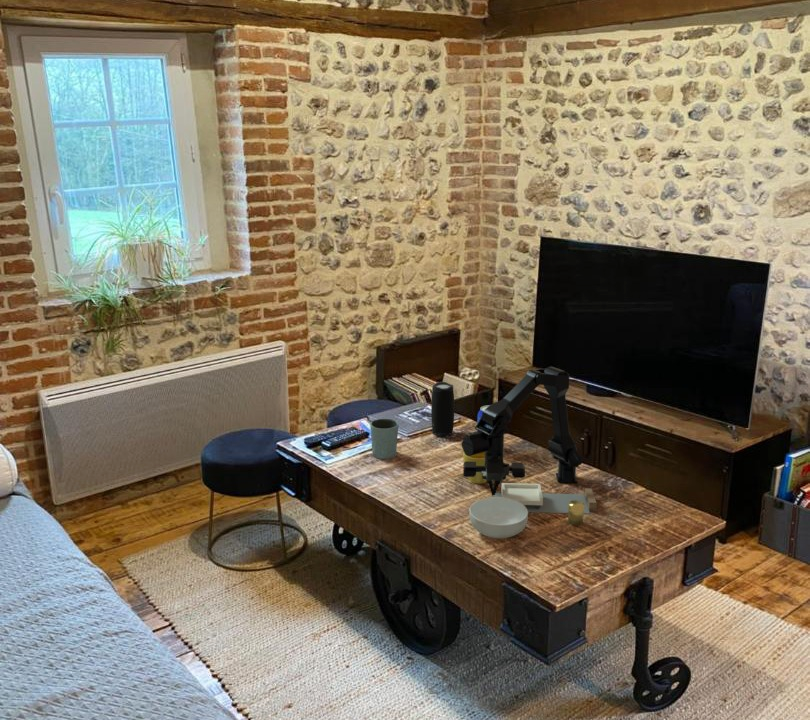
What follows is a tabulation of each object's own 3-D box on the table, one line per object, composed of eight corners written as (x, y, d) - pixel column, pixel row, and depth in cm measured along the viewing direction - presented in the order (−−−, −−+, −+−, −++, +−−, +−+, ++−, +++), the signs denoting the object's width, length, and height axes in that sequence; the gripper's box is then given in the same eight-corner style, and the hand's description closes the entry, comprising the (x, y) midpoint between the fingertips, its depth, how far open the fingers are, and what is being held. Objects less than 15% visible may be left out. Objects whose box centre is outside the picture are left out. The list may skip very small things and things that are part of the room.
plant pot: (479, 489, 258) (479, 461, 255) (456, 479, 266) (456, 451, 263) (500, 480, 265) (501, 452, 262) (478, 470, 272) (478, 443, 269)
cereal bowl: (458, 524, 236) (459, 502, 234) (508, 513, 242) (508, 492, 240) (486, 551, 221) (487, 528, 219) (538, 539, 227) (539, 516, 225)
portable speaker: (433, 439, 299) (433, 389, 294) (429, 429, 308) (429, 381, 303) (456, 437, 300) (456, 388, 295) (451, 428, 309) (452, 380, 304)
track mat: (491, 492, 256) (491, 492, 256) (583, 494, 254) (583, 494, 254) (493, 511, 243) (493, 510, 243) (589, 513, 241) (589, 513, 241)
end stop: (584, 496, 252) (584, 488, 252) (590, 497, 252) (591, 488, 251) (589, 511, 243) (589, 502, 242) (595, 511, 243) (596, 502, 242)
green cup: (382, 446, 293) (381, 416, 289) (404, 453, 287) (404, 421, 283) (364, 456, 285) (364, 424, 281) (387, 462, 279) (387, 430, 276)
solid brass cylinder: (566, 518, 239) (567, 500, 237) (581, 519, 238) (582, 500, 237) (568, 525, 235) (569, 507, 233) (584, 526, 234) (585, 507, 233)
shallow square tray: (501, 494, 254) (501, 483, 253) (539, 495, 253) (540, 483, 252) (502, 508, 245) (503, 497, 243) (542, 509, 244) (542, 498, 243)
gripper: (463, 458, 238) (463, 506, 242) (526, 459, 236) (525, 507, 241) (463, 443, 248) (463, 489, 253) (524, 444, 247) (522, 490, 251)
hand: (493, 494), depth 249 cm, fingers closed
